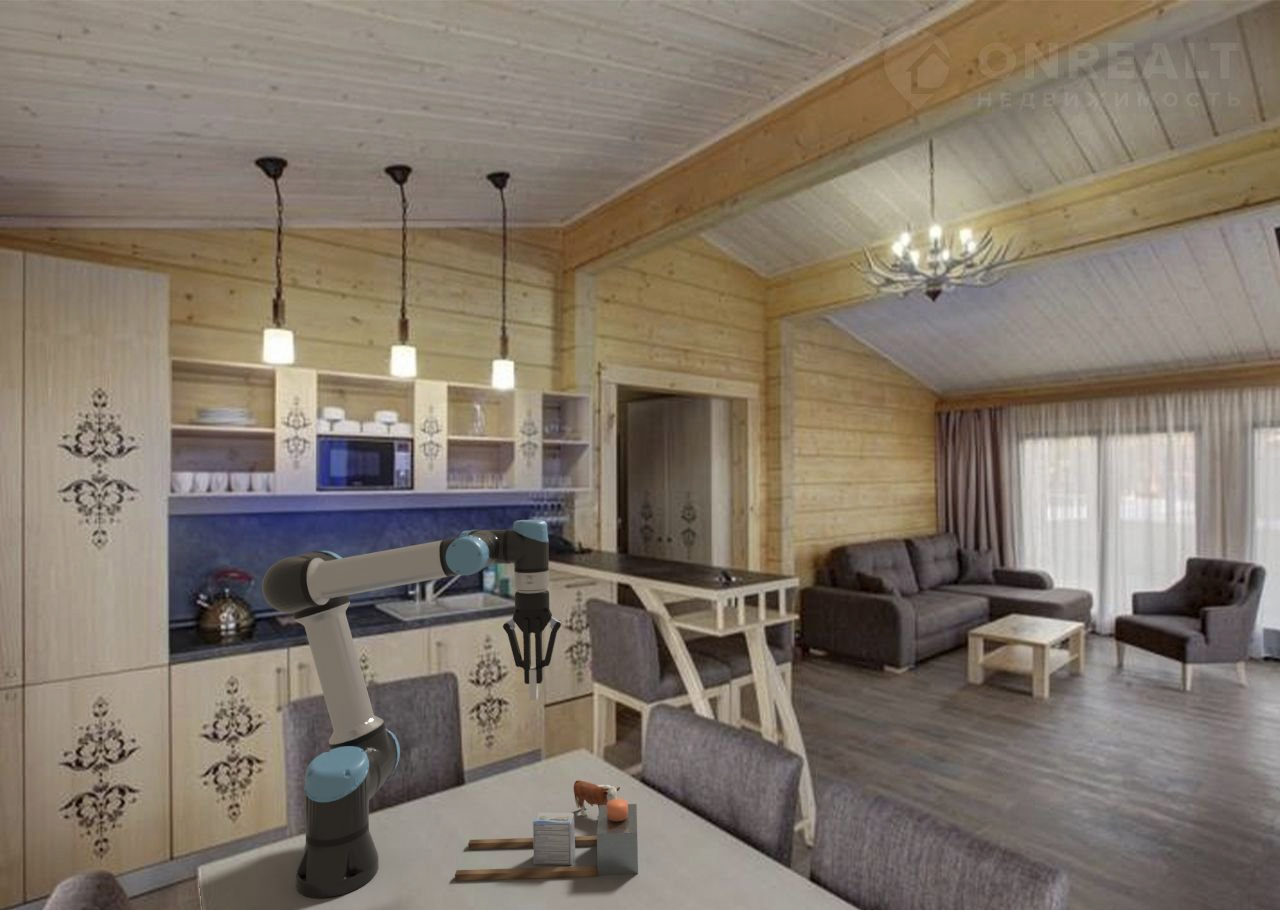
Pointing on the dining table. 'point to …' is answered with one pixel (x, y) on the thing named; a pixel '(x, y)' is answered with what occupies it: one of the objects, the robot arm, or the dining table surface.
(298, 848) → the dining table surface
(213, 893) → the dining table surface
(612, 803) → the gauge button
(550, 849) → the medicine box
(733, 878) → the dining table surface
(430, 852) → the dining table surface
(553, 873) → the track
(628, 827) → the end cabinet
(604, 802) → the bull figurine
